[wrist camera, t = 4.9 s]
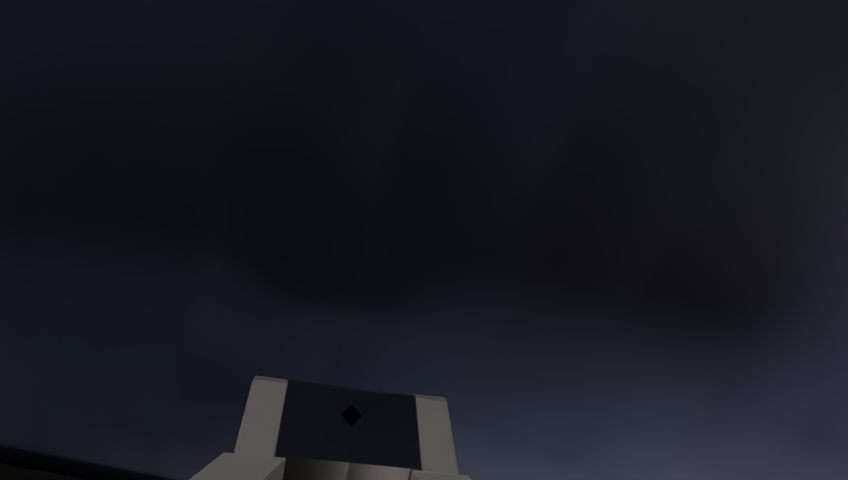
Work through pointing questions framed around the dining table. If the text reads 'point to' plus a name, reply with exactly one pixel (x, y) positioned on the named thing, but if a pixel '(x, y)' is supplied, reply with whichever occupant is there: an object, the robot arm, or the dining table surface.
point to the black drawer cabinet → (29, 474)
